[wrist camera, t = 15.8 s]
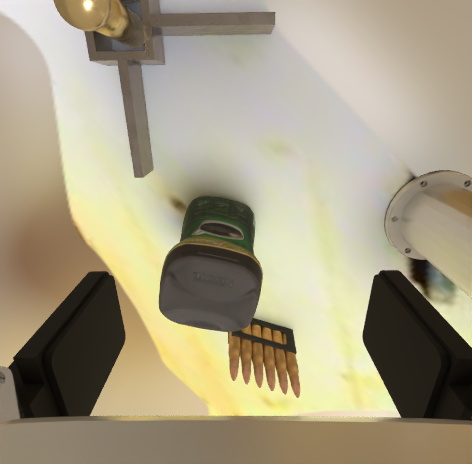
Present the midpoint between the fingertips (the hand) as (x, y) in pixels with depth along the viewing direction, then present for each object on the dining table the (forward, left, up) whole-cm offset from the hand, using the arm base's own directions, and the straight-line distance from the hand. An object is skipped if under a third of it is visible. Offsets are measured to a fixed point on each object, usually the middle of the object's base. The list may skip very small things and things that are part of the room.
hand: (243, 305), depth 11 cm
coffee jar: (+3, +9, -31) cm, 32 cm away
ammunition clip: (-3, +27, -31) cm, 41 cm away
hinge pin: (+12, -14, -30) cm, 35 cm away
